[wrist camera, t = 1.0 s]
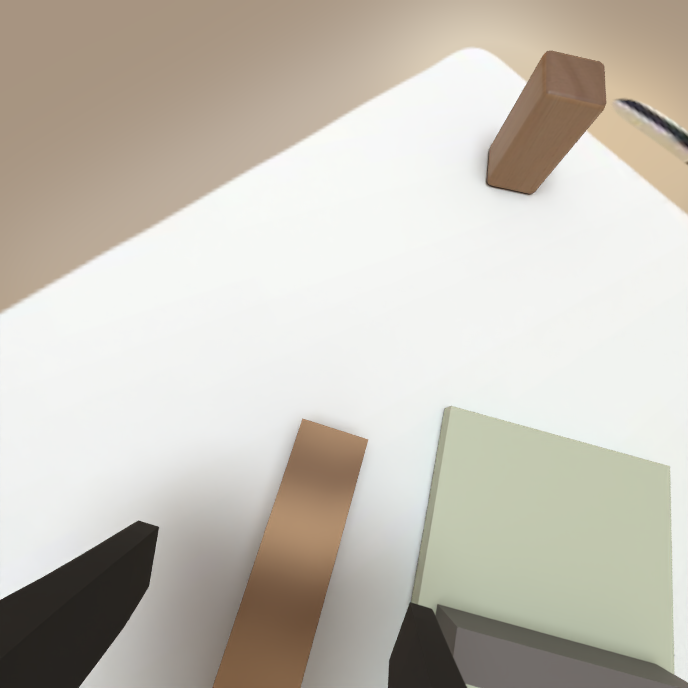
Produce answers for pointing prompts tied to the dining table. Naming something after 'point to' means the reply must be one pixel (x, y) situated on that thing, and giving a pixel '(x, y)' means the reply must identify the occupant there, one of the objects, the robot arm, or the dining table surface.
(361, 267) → the dining table surface
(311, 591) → the walnut batten
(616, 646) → the stand
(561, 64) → the wooden block
